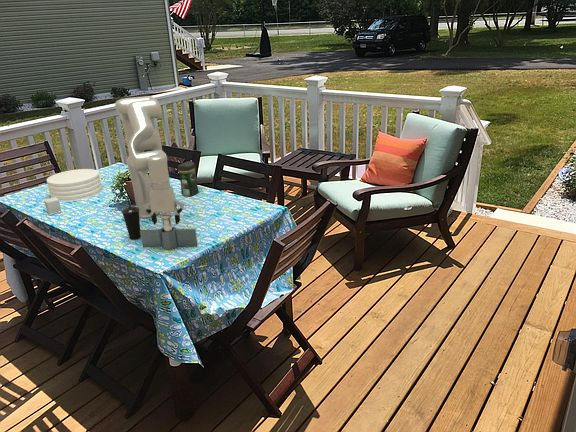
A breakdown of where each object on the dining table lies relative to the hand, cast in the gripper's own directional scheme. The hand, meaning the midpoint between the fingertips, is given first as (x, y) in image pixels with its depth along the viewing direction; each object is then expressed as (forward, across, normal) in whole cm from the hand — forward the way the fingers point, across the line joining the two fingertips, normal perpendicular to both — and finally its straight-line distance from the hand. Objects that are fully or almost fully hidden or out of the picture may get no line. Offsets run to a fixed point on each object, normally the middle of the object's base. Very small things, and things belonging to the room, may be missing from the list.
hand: (166, 223), depth 201 cm
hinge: (+11, 0, 0) cm, 11 cm away
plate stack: (+12, -76, +72) cm, 106 cm away
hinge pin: (+11, 0, 0) cm, 11 cm away
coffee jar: (+12, -8, +68) cm, 69 cm away
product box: (+12, -75, +44) cm, 88 cm away
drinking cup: (+11, -19, +10) cm, 24 cm away
